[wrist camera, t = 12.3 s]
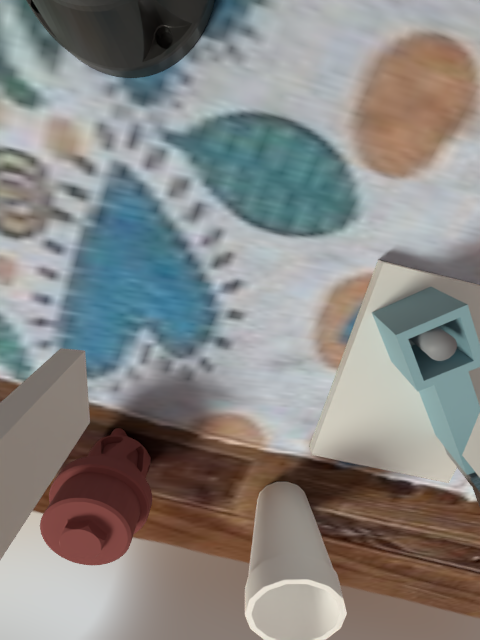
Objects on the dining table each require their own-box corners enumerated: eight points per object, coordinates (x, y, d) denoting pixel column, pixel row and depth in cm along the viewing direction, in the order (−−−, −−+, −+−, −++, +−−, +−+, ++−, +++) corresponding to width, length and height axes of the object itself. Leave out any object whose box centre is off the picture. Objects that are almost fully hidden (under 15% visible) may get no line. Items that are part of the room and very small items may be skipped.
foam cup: (324, 521, 46) (353, 638, 34) (256, 533, 47) (259, 652, 35) (310, 464, 43) (336, 570, 31) (237, 479, 44) (234, 588, 32)
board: (378, 259, 35) (414, 277, 27) (536, 298, 36) (613, 326, 29) (309, 446, 42) (323, 500, 35) (441, 473, 44) (483, 532, 36)
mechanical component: (96, 403, 41) (177, 433, 42) (74, 466, 44) (150, 492, 45) (38, 485, 29) (152, 524, 30) (12, 564, 32) (117, 596, 34)
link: (371, 312, 35) (396, 335, 30) (430, 286, 34) (467, 304, 29) (422, 440, 40) (451, 480, 35) (475, 420, 39) (514, 458, 34)
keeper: (414, 409, 41) (480, 492, 29) (452, 395, 40) (535, 474, 29) (430, 449, 42) (498, 542, 31) (467, 436, 42) (549, 526, 30)
